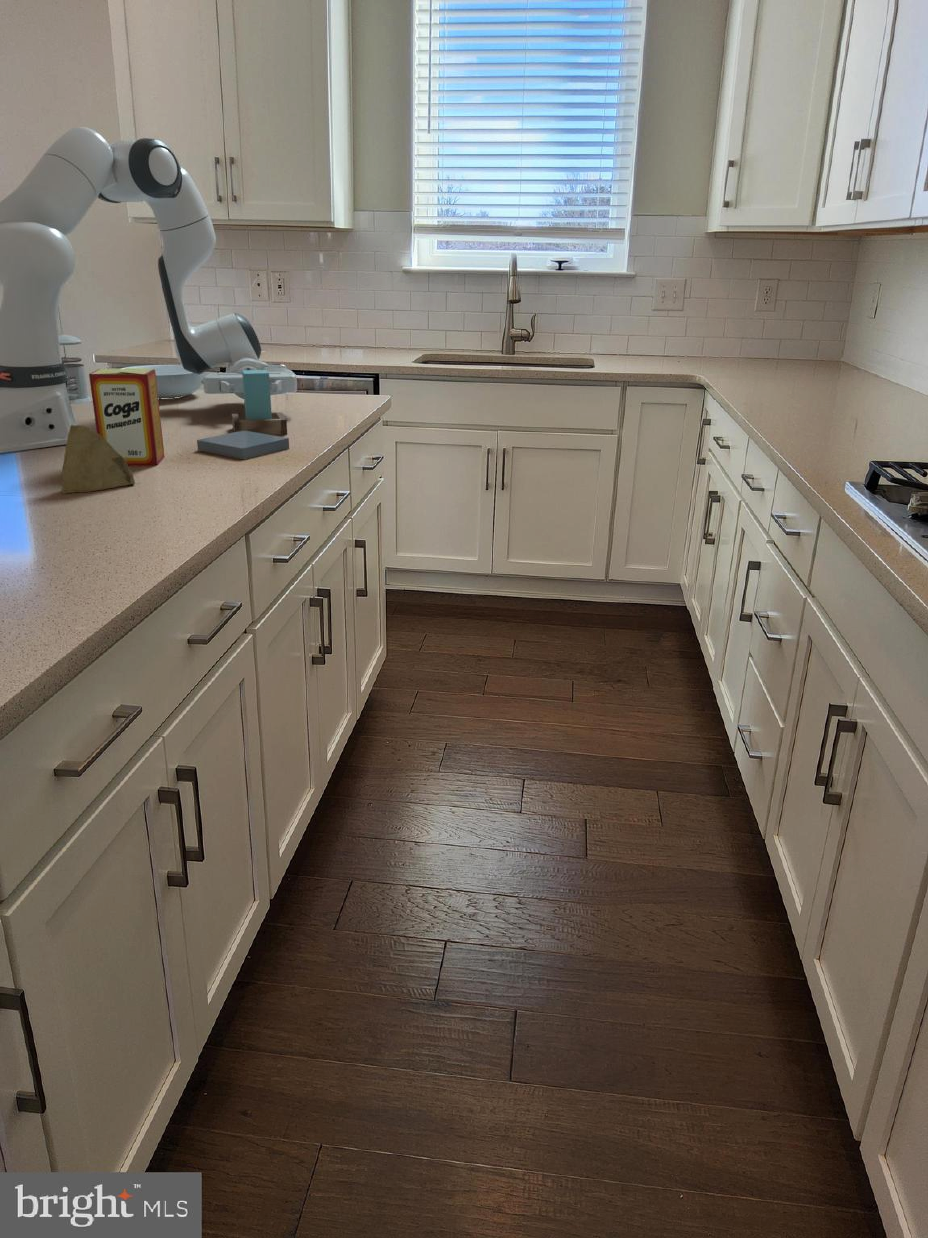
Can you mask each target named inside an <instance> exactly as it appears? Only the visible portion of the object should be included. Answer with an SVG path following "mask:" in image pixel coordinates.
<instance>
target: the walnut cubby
mask: <svg viewBox="0 0 928 1238" xmlns="http://www.w3.org/2000/svg"><path fill="white" fill-rule="evenodd" d="M275 415H276V418H272V419H262V420H246V419H240V416H239V414H238V413H231V421H232V422H231V423H232V430H233V433H234V432H239V431H243V430H245V431H251V432H256V433H262V434H268V435H274V436H281V435H283V436H284V435H288V425H287V418H286V417H285V415H284V413H283V412H281V411H279V412H276V414H275Z"/></svg>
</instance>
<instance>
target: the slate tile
mask: <svg viewBox="0 0 928 1238" xmlns="http://www.w3.org/2000/svg"><path fill="white" fill-rule="evenodd" d="M196 443H197V451H198V452H203V453H209V454H214V455H220V456H222V457H223V456H224V457H229V458H233V457H235V459H239V460H247V459H250V458H249V457H251V458H255V457H259V456H263V455H264V456H265V455H268V454H271V453H276V452H279V451H285V450H288V449H290V439H289V437H284V436H280V435H268V434H262V433H256V432H251V431H245V430H243V431H239V432H234V431H233V432H228V433H224V434H219V435H214V436H210V437H205V438H200V439H197V440H196ZM246 458H247V459H246Z"/></svg>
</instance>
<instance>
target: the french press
mask: <svg viewBox="0 0 928 1238" xmlns="http://www.w3.org/2000/svg"><path fill="white" fill-rule="evenodd" d="M60 297H62V295H60ZM59 305H60V304H59ZM59 305H58V316H59V317H58V318H59V324H60V332H61V333H60V334H58V336H59V344H60V346H63V352H64V357H63V356H61V359H62V362H63V363H64V364H65V370H66V375H67V393H68V397H69V401H70V405H71V404H74V405H75V404H85V403H90V402H93V401H92V396H89V391H88V384H87V379H86V370H85V365H84V364H81V363H80V362H81V361H82V357H79V356H75V357H74V356H71V357H70V356H67V355H66V348H65V346H71V345H73V346H74V345H75V346H76V345H79V344H82V340H81V339H80V338H78V337H76V336H73V335H69V334H64V333H63V327H62V320H61V313H60V306H59Z"/></svg>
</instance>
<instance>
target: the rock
mask: <svg viewBox="0 0 928 1238" xmlns="http://www.w3.org/2000/svg"><path fill="white" fill-rule="evenodd" d="M129 467H130V466H128V465H127V463H126V461H125V459H124V458H123V457H122V456H121V455H119V454H118V453H117V452H116V451H115V450H114V449H113V447H112V446H111V445H110V444H109V443H108V442H107V441H106V440H105V439H104V437H102V436H101V435H99V434H98V433H97V431H94V430H92V429H90V428H89V427H87V426H86V425H78V424H77V426H75V425H71V427H70V432H69V435H68V440H67V443H66V444H65V451H64V459H63V464H62V468H61V473H62V474H61V478H62V480H61V481H62V482H61V494H62V495H68V494H72V493H74V494H75V493H87V492H94V491H102V490H103V491H104V490H108V489H115V488H118V487H124V486H128V485H129V486H130V485H133V484H136V481H135V478H134V475H133V472H132V471H131V469H130V468H129Z"/></svg>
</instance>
